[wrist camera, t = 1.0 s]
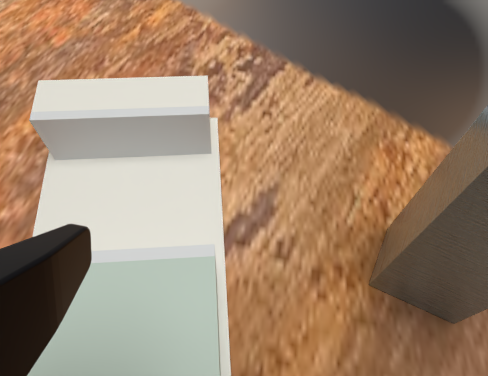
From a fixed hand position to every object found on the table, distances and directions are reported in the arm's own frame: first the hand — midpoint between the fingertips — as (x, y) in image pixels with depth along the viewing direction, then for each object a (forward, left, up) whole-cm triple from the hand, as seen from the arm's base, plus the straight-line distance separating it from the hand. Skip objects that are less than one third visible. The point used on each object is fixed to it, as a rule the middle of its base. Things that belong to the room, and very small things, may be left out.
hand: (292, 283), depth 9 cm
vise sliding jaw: (+4, +5, -14) cm, 16 cm away
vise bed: (+9, +3, -15) cm, 18 cm away
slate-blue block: (-1, -11, -15) cm, 19 cm away
